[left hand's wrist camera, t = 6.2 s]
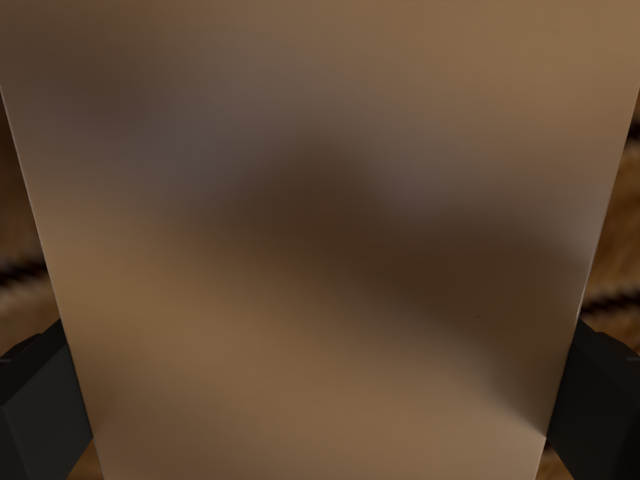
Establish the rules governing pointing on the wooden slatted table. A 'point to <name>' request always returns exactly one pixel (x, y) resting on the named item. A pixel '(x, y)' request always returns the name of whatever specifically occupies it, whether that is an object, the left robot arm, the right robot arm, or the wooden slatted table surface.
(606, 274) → the wooden slatted table surface
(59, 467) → the left robot arm
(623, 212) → the wooden slatted table surface
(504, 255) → the cabinet
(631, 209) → the wooden slatted table surface
